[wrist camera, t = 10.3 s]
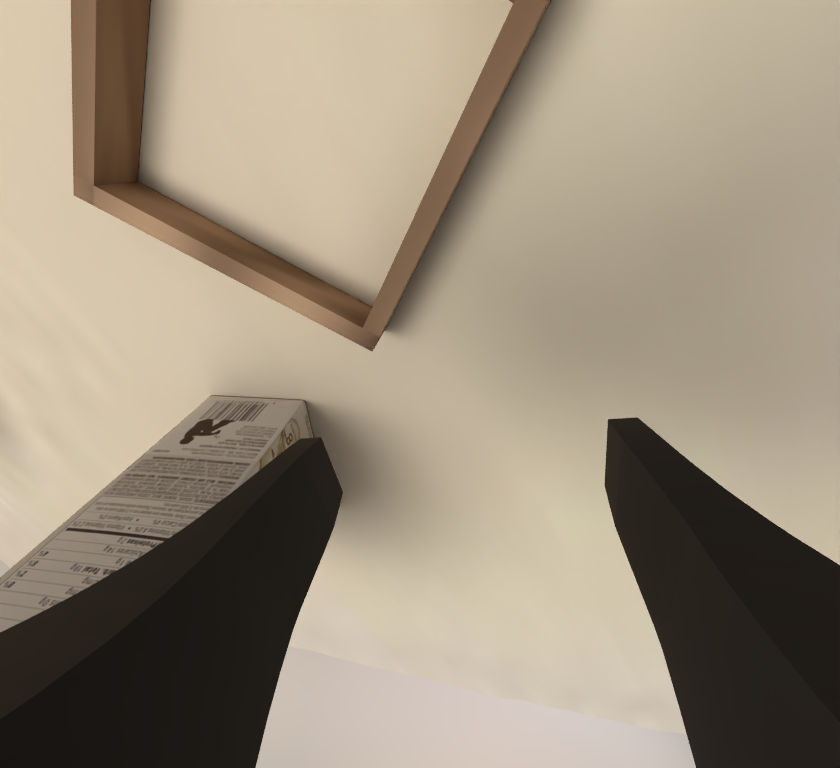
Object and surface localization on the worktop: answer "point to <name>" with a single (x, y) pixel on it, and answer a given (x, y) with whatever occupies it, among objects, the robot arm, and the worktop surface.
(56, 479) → the worktop surface
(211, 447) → the coffee box
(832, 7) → the worktop surface
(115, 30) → the jug holder
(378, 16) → the worktop surface
